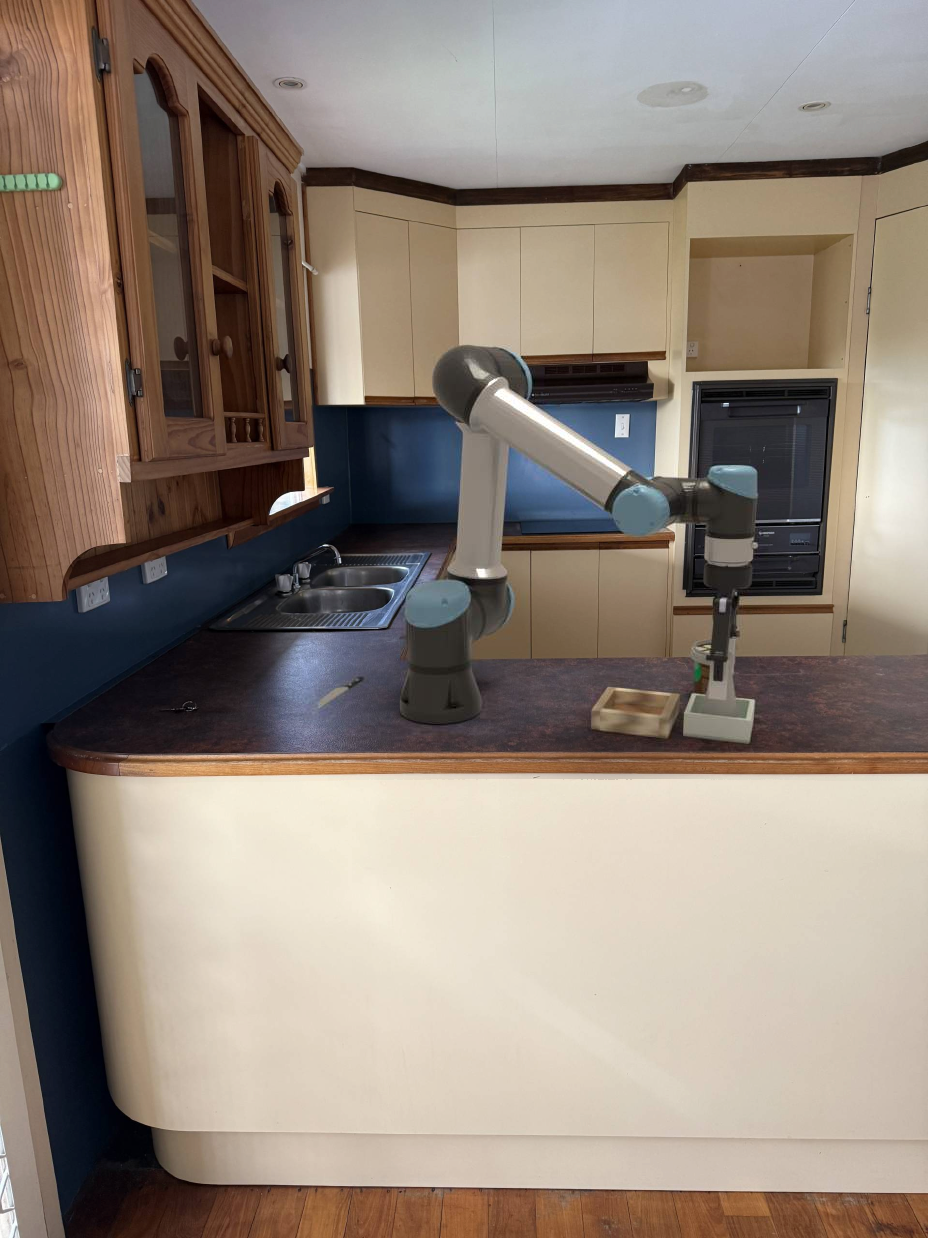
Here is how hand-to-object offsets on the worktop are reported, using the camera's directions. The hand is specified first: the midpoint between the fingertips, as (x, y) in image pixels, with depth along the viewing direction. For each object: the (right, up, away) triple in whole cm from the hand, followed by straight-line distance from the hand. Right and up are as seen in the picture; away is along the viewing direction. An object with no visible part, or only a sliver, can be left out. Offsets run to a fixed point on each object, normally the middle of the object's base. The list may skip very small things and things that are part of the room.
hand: (721, 685), depth 141 cm
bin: (0, -8, +2) cm, 8 cm away
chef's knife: (-69, -4, +24) cm, 73 cm away
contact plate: (-13, -7, +6) cm, 16 cm away
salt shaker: (0, -7, +2) cm, 7 cm away
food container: (+3, -3, +19) cm, 19 cm away
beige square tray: (-13, -7, +6) cm, 16 cm away
